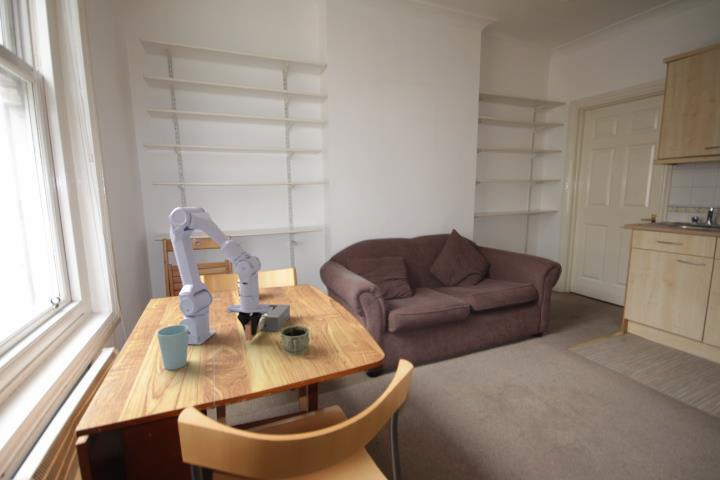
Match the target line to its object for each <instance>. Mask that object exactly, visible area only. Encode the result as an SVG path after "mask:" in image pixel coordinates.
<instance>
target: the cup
mask: <svg viewBox="0 0 720 480" xmlns="http://www.w3.org/2000/svg"><path fill="white" fill-rule="evenodd" d="M188 331H189V327H188V326H185V325H179V324H176V325H175V324H174V325H170V326H166V327H163V328H160V329H158V331H157V333H156V334H157V335H156V336H157V339H158V344H159V350H160V353H161V359H162V363H163V367H164V369H165V370H168V371H172V370H179V369H181V368H182V367H185V366H186V364H187V363H188V361H187V359H188V345H189V344H188Z"/></svg>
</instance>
